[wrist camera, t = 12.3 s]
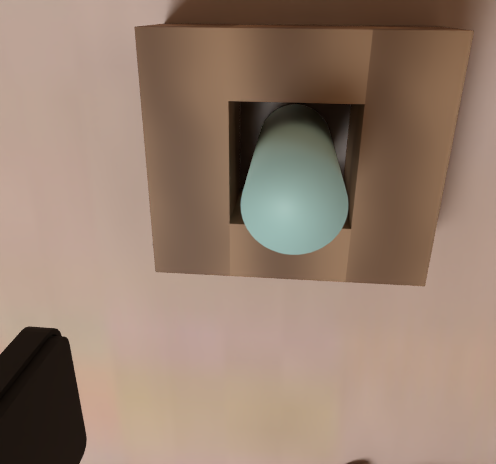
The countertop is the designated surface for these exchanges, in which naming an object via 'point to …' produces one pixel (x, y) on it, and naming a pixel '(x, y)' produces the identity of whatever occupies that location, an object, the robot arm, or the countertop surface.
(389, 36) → the socket block
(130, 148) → the countertop surface
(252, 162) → the peg
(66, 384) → the robot arm
